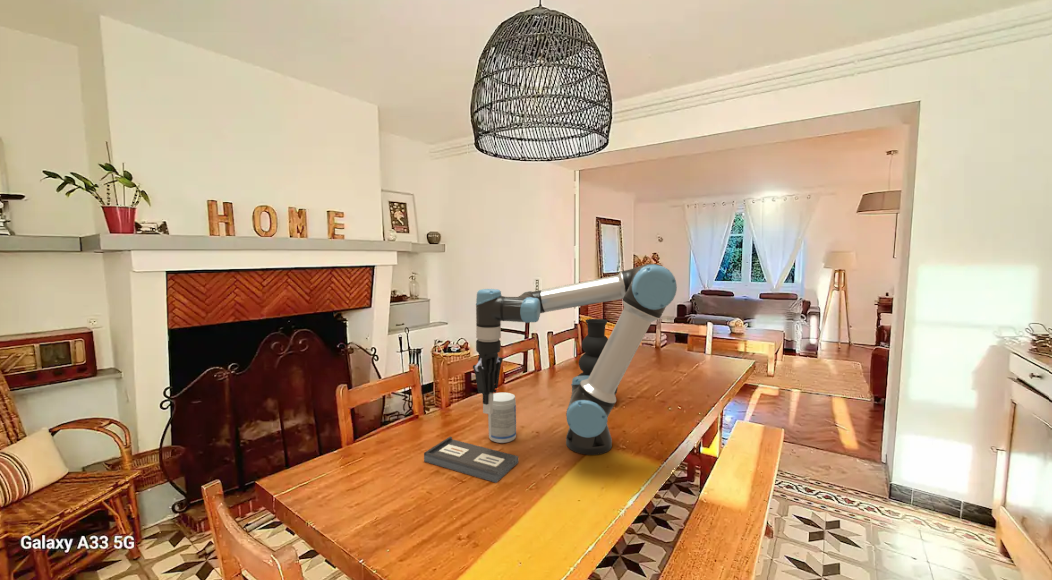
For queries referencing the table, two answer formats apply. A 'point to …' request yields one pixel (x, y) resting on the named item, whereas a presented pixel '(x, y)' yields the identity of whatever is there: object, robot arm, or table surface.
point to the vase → (593, 345)
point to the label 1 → (454, 450)
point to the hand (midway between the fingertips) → (487, 412)
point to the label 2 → (489, 460)
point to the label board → (470, 460)
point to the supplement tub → (502, 418)
